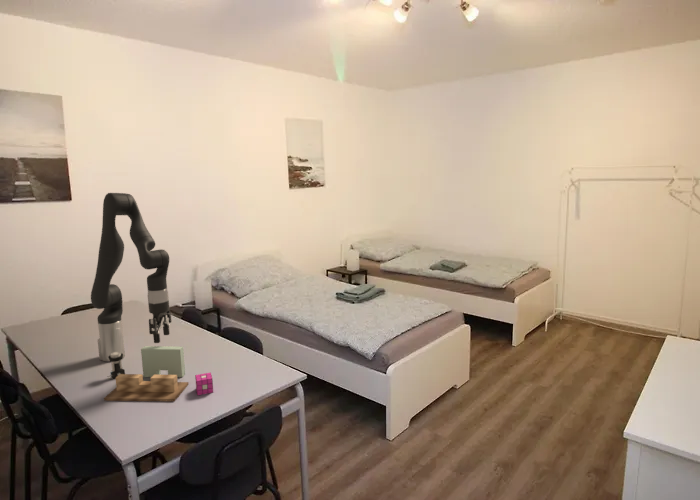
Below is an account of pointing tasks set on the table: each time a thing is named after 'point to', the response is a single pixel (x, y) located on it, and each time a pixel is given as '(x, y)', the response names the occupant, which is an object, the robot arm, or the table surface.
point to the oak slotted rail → (146, 388)
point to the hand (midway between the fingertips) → (162, 338)
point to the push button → (116, 364)
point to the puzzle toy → (204, 383)
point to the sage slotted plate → (163, 360)
